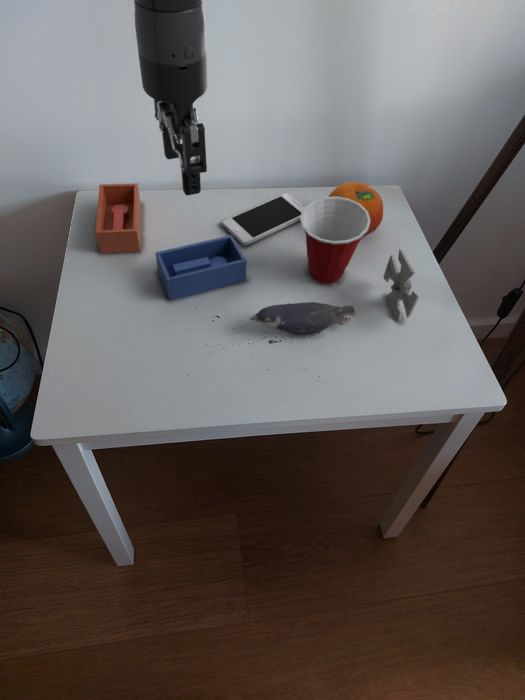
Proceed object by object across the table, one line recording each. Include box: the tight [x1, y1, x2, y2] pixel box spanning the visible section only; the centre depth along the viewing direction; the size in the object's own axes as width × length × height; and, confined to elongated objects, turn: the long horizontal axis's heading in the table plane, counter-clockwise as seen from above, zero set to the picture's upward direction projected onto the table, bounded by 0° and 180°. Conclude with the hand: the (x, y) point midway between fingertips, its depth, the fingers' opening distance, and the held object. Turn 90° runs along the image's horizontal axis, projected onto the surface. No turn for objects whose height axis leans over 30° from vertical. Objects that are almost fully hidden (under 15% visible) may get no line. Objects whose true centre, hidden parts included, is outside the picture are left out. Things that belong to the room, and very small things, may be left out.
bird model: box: [249, 301, 358, 336], centre depth 78 cm, size 4×17×5 cm, turn 98°
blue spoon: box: [172, 256, 227, 276], centre depth 84 cm, size 9×3×3 cm, turn 112°
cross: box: [383, 248, 420, 322], centre depth 80 cm, size 10×3×10 cm, turn 13°
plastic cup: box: [300, 196, 371, 285], centre depth 83 cm, size 11×11×12 cm
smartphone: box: [221, 192, 305, 247], centre depth 95 cm, size 7×15×1 cm, turn 128°
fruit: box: [327, 181, 384, 238], centre depth 92 cm, size 11×10×8 cm
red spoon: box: [111, 204, 130, 230], centre depth 90 cm, size 9×3×3 cm, turn 8°
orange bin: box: [94, 182, 142, 254], centre depth 90 cm, size 13×7×5 cm, turn 8°
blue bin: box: [155, 234, 247, 301], centre depth 84 cm, size 13×7×5 cm, turn 113°
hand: (182, 174), depth 69 cm, fingers open, 8 cm apart
